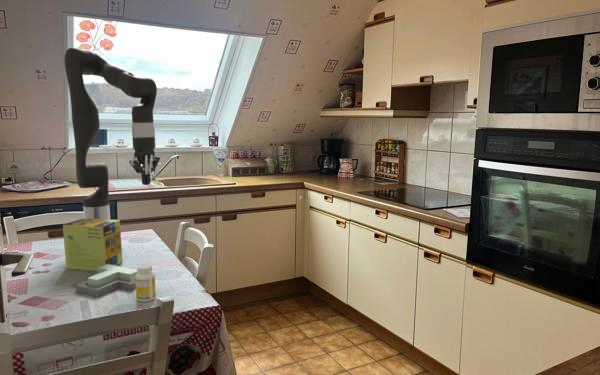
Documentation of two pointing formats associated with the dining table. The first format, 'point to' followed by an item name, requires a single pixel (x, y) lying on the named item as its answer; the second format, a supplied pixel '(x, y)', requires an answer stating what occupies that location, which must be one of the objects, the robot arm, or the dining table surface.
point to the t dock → (105, 288)
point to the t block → (111, 275)
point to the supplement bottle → (145, 283)
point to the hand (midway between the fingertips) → (146, 184)
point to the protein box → (92, 243)
